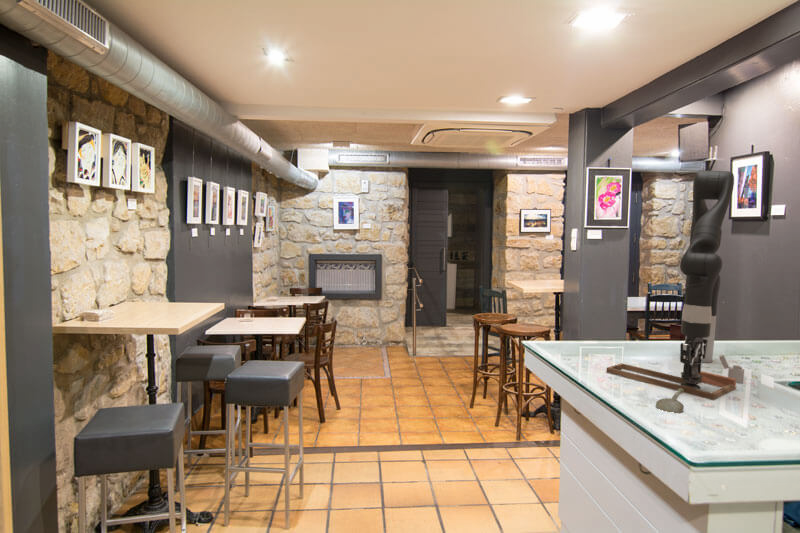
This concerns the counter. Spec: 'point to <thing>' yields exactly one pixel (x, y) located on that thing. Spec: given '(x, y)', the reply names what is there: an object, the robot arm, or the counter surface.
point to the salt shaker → (693, 376)
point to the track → (676, 380)
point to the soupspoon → (671, 403)
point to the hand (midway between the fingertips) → (691, 374)
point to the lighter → (733, 370)
